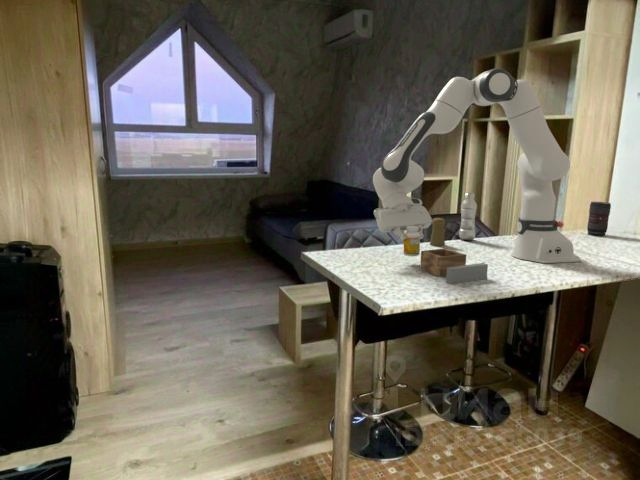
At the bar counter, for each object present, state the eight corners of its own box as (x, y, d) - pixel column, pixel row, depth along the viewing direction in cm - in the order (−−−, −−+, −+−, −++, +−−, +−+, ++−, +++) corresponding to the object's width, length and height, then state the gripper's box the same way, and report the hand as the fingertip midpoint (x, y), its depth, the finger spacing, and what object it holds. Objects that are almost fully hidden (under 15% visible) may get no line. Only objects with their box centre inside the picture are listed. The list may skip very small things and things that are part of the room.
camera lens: (608, 237, 208) (613, 203, 205) (587, 236, 210) (592, 202, 207) (604, 234, 215) (609, 201, 212) (584, 232, 218) (588, 200, 215)
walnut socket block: (420, 268, 154) (421, 251, 153) (444, 265, 158) (445, 248, 157) (439, 276, 145) (441, 257, 144) (465, 273, 149) (466, 254, 148)
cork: (445, 246, 187) (446, 219, 185) (429, 246, 188) (431, 219, 186) (444, 243, 193) (446, 217, 191) (429, 243, 194) (430, 216, 192)
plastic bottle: (472, 242, 196) (476, 194, 192) (456, 240, 199) (459, 193, 195) (476, 239, 201) (480, 193, 197) (460, 237, 205) (463, 192, 201)
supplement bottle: (401, 253, 162) (402, 225, 160) (416, 252, 162) (417, 225, 160) (405, 256, 157) (406, 228, 155) (421, 256, 157) (422, 227, 155)
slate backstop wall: (446, 282, 139) (446, 267, 138) (481, 276, 145) (483, 262, 144) (450, 284, 138) (451, 269, 137) (486, 278, 143) (487, 264, 142)
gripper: (375, 203, 158) (390, 236, 151) (424, 199, 166) (441, 230, 159) (368, 214, 163) (383, 247, 156) (416, 210, 171) (432, 241, 164)
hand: (413, 239), depth 158 cm, fingers closed on supplement bottle, 5 cm apart
